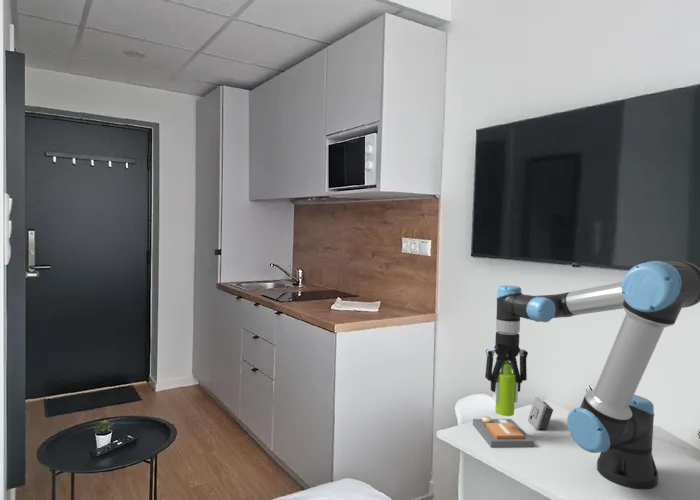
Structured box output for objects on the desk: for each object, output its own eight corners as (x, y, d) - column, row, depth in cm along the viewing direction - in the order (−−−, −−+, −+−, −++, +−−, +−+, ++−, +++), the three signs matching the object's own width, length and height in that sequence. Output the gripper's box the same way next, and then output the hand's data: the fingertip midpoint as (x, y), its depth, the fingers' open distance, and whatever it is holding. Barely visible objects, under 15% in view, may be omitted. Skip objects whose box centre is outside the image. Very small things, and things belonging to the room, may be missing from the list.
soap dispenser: (520, 414, 157) (522, 354, 157) (503, 417, 155) (505, 356, 154) (508, 408, 163) (510, 350, 162) (491, 410, 160) (494, 351, 160)
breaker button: (523, 444, 154) (523, 434, 154) (496, 444, 154) (496, 435, 154) (510, 431, 164) (511, 422, 164) (485, 431, 164) (485, 422, 164)
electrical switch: (527, 420, 175) (530, 395, 174) (541, 422, 175) (544, 397, 174) (536, 431, 165) (539, 405, 165) (551, 433, 165) (554, 406, 165)
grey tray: (533, 447, 153) (534, 436, 152) (491, 447, 152) (491, 436, 151) (510, 424, 171) (511, 414, 170) (472, 424, 170) (473, 414, 169)
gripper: (530, 330, 162) (527, 396, 163) (475, 329, 161) (473, 397, 162) (540, 335, 155) (537, 405, 156) (483, 334, 153) (481, 405, 154)
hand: (504, 400), depth 159 cm, fingers closed on soap dispenser, 6 cm apart
